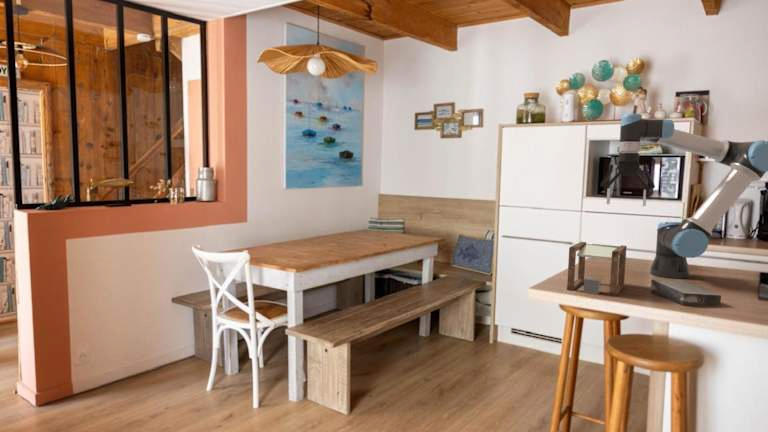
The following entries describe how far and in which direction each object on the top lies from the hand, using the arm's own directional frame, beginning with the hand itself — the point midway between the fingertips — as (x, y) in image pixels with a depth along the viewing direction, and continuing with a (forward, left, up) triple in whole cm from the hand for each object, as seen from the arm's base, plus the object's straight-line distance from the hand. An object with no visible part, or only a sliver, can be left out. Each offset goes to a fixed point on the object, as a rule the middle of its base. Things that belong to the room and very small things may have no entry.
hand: (625, 205), depth 216 cm
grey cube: (+5, +32, -26) cm, 42 cm away
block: (-24, +22, -31) cm, 45 cm away
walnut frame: (+5, +25, -31) cm, 40 cm away
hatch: (+5, +21, -21) cm, 30 cm away
